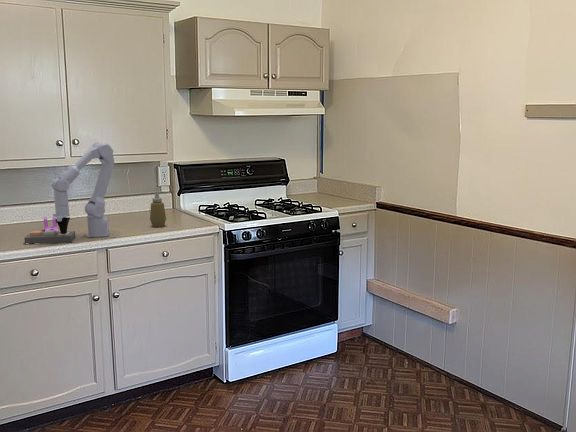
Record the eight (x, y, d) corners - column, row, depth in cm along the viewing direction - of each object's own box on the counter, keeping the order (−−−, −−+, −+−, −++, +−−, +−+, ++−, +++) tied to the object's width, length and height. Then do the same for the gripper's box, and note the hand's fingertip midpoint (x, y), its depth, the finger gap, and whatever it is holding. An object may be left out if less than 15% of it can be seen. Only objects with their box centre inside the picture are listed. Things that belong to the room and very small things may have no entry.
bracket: (44, 230, 295) (43, 216, 294) (56, 229, 298) (55, 215, 297) (47, 235, 284) (46, 221, 283) (59, 234, 287) (58, 220, 285)
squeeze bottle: (162, 228, 299) (161, 192, 295) (147, 227, 300) (145, 192, 297) (168, 224, 306) (167, 190, 303) (154, 224, 308) (152, 190, 305)
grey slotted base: (75, 237, 278) (75, 231, 278) (71, 242, 269) (70, 236, 268) (30, 239, 275) (30, 232, 275) (24, 244, 266) (24, 237, 265)
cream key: (70, 238, 275) (69, 232, 275) (68, 240, 271) (67, 234, 270) (60, 239, 275) (60, 232, 274) (58, 241, 270) (57, 234, 270)
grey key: (56, 236, 274) (56, 230, 274) (54, 238, 270) (54, 232, 269) (46, 236, 273) (46, 230, 273) (44, 238, 269) (43, 232, 269)
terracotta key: (43, 236, 273) (42, 230, 273) (40, 239, 269) (40, 232, 268) (33, 237, 273) (32, 230, 272) (30, 239, 268) (29, 232, 268)
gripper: (56, 202, 276) (58, 230, 279) (48, 207, 262) (51, 237, 265) (71, 201, 277) (73, 230, 280) (65, 207, 263) (67, 236, 266)
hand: (63, 233), depth 272 cm, fingers closed, pressing on cream key
